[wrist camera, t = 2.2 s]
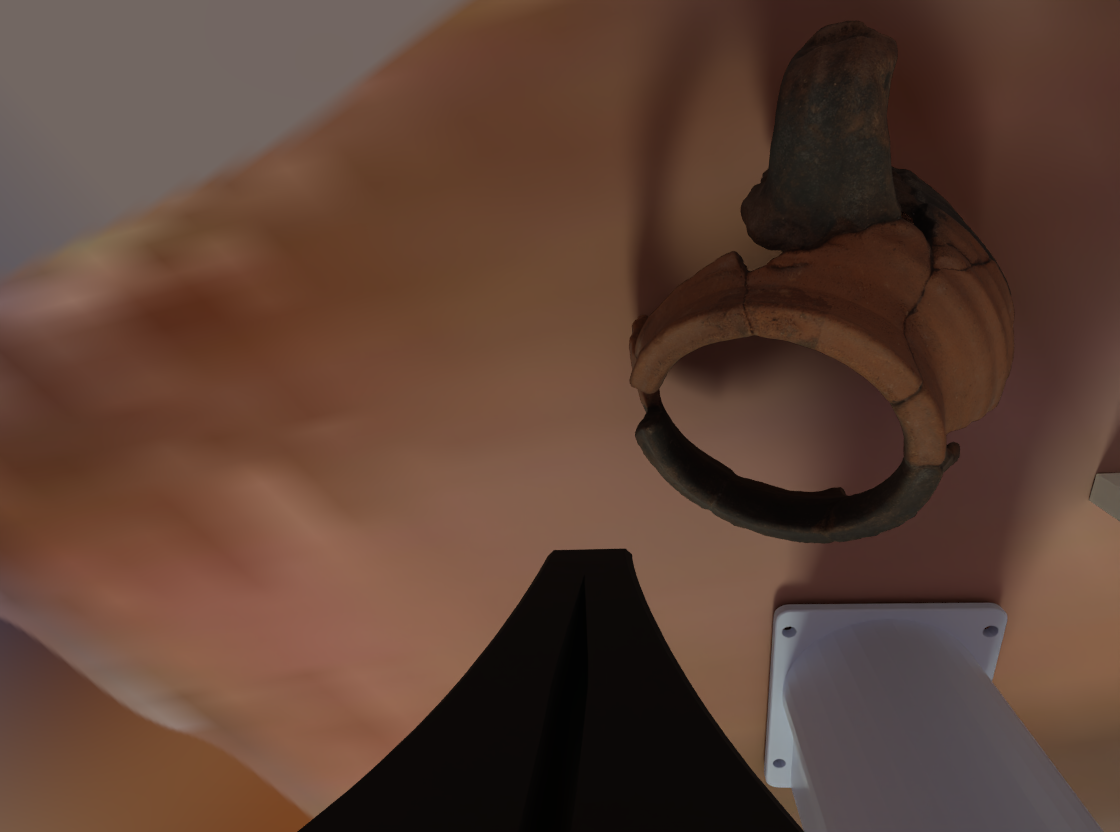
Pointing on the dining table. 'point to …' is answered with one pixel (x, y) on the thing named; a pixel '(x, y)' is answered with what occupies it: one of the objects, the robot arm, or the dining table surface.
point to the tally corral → (1107, 493)
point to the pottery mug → (839, 298)
